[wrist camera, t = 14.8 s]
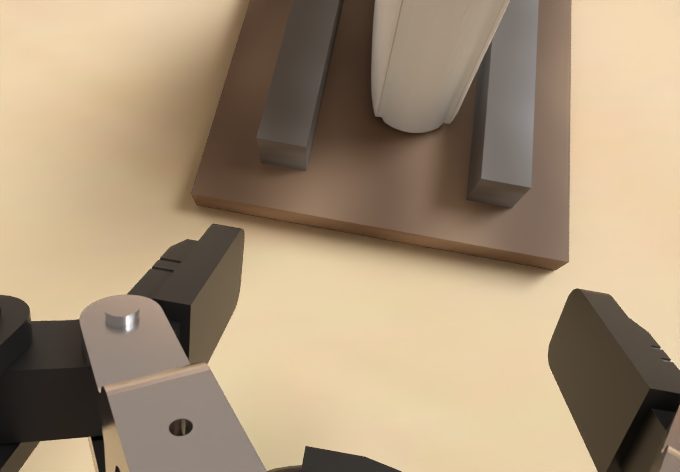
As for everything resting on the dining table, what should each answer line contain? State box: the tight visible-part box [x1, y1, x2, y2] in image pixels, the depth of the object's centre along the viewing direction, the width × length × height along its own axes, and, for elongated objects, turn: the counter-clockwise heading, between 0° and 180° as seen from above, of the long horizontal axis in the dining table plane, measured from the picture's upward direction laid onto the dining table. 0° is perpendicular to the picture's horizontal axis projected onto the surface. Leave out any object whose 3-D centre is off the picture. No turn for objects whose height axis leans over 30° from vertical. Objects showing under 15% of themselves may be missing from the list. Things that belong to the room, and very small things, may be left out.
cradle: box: [191, 0, 571, 270], centre depth 24 cm, size 16×20×3 cm
